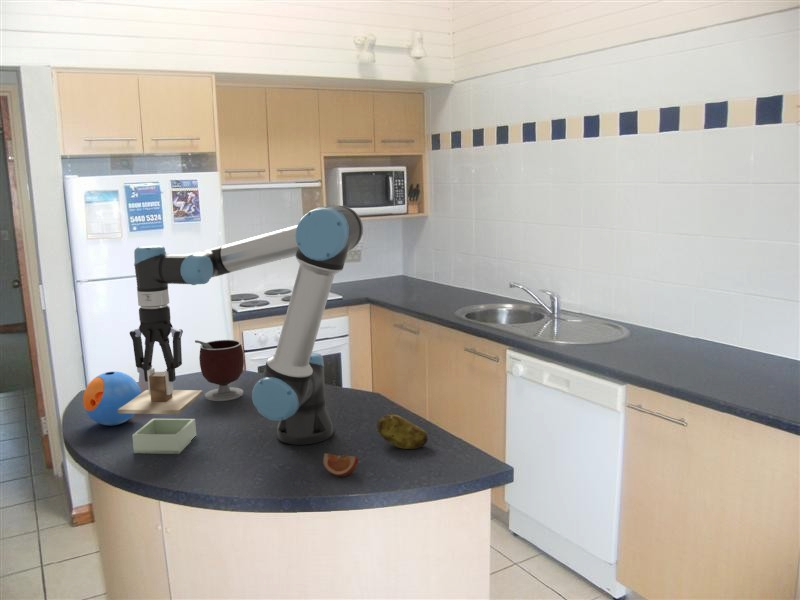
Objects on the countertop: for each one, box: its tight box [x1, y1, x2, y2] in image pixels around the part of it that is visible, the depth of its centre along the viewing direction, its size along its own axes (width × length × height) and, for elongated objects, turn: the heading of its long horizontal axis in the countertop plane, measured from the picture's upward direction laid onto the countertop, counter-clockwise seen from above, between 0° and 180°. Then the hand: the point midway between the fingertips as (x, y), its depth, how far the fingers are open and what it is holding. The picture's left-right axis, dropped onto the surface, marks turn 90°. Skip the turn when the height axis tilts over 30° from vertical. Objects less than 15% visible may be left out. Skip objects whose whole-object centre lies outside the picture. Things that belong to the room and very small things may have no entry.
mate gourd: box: [194, 339, 245, 402], centre depth 216 cm, size 16×14×20 cm
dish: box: [131, 418, 197, 455], centre depth 177 cm, size 12×12×5 cm
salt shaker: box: [136, 366, 153, 393], centre depth 210 cm, size 6×6×13 cm
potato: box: [376, 414, 429, 450], centre depth 173 cm, size 8×13×8 cm, turn 55°
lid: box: [118, 371, 204, 415], centre depth 175 cm, size 16×16×8 cm
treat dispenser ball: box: [82, 371, 141, 426], centre depth 193 cm, size 16×15×15 cm
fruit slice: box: [322, 452, 359, 477], centre depth 158 cm, size 8×7×5 cm
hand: (161, 393), depth 175 cm, fingers closed on lid, 4 cm apart
